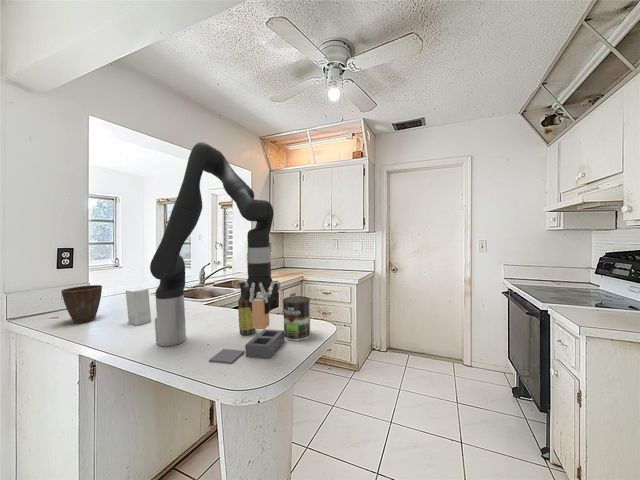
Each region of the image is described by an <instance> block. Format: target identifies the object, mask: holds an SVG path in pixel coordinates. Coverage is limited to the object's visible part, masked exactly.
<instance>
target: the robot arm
mask: <svg viewBox="0 0 640 480" xmlns="http://www.w3.org/2000/svg"><path fill="white" fill-rule="evenodd" d="M186 163H187V164H186V168H185V172H184V177H183V179H182V183H181V185H180V188H179V192H178V195H177V197H176V200H175V202H174V205H173V207H172V209H171V212H170V216H169V219H168V221H167V224H166V227H165V230H164V233H163V235H162V238H161V240H160V243H159V245H158V247H157V249H156V251H155V253H154V254H153V257H152V258H151V262H150V265H149V269H150V274H151V275H152V276H153V278H155V279H156V280H159V285H158V286H157V288H156V290H155V306H156V309H155V310H156V317H155V318H154V330H155V345H158V346H160V347H171V346H177V345H179V344H182V343H184V342H185V341H186V340H187V333H186V332H187V331H186V328H187V327H186V313H185V312H186V311H185V294H184V293H185V292H184V291H185V287H186V263H185V261H184V257H183V256H181V255H180V253H181V250H182V248H183V246H184V244H185V242H186V241H187V239H188V238H189V237H190V235H191V234H192V233H193V231H194V229H195V228H196V226H197V224H198V222H199V220H200V216H201V213H202V211H203V199H202V193H201V180H202V179H201V178H202V176H203V172H206V173H208V174H211V175H213V176H215V177H216V178H217V179H218V180H220V181H221V183H222V185H223V186H222V187H223V189H224V191H225V193H226V194H227V195H228V196H229V197H230V198H231V200H233V201H234V203H235V204H236V207H237V209H238V211H239V214H240V216H242V218H243V219H245V220H246V221H249V222H256V225H255V227H254V228H252V229H249V230H248V231H247V235H246V238H247V252H246V261H247V263H246V264H247V266H246V267H247V279H246V280H245V281H241V282H240V283H239V288H240V287H241V288H240V291H241V290H242V293H243V296H244V299H245V300H248V301H250V310H251V311H252V301H253V300H254V299H255V298H256V297H258V296H257V295H258V293H260V294H261V295H262V296H261V297H264V301H265V314H268V313H269V314H270V312H271V310H272V305H271V304H272V303H271V302H273V301H275V300H276V299H277V297H278V292H279V290H280V286H281V283H280V282H278V281H277V282H276V281H274V280H273V278H272V260H271V258H272V257H271V256H272V254H271V248H270V246H271V245H270V233H271V229H272V224H273V220H274V214H275V213H274V208H273V205H272V204H271V203H270V201H268V200H263V199H255V192H254V191H253V189H252V188H251V187H250V186H249V185H248V184H247V183H246V182H245V181H244V180H243V179H242V178H241V177H240V176H239V174H237V173H236V172H235V170H234V169H233V168H232V166H231V165H230V163H229V162H228V160H227V159H226V157H225V155H224V154H223V153H222V152H221V151H220V150H218V149H217V148H215V147H213V146H211V145H210V144H208V143H207V142H204V141H199V142H197V143H196V144H194V145H193V147H192V148H191V151H190V153H189V157H188V159H187V162H186ZM248 285H249V286H250V292H249V289H248ZM270 287H271V289H272V291H270Z"/></svg>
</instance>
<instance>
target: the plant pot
mask: <svg viewBox="0 0 640 480" xmlns="http://www.w3.org/2000/svg"><path fill="white" fill-rule="evenodd" d="M102 290H103V285H100V284H98V285H97V284H92V285H91V284H89V285H82V286H74V287H68V288H65V289H62V290H61V291H60V292H61V296H62V299H63V303H64V305H65V307H66V308H65V309H66V310H67V312H68V315H69V316H70V318H71V320H72V322H73V323H74V324H77V323H78V324H85V323H89V322H92V321H94V320H95V319H96V317H97V313H98V310H99V306H100V303H101V297H102Z"/></svg>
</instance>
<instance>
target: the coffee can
mask: <svg viewBox="0 0 640 480" xmlns="http://www.w3.org/2000/svg"><path fill="white" fill-rule="evenodd" d="M310 301H311V299H310V297H308V296H303V295H301V296H300V295H293V296H289V297H284V298H283V299H282V307H283V308H282V309H283V330H284V337H285V339H286V340H287V341H293V342H297V341H298V342H299V341H304V340H307V339H309V338H311V336H312V335H311V309H310V308H311V304H310Z"/></svg>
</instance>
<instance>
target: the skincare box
mask: <svg viewBox="0 0 640 480" xmlns="http://www.w3.org/2000/svg"><path fill="white" fill-rule="evenodd" d="M125 299H126V308H127V309H126V310H127V316H128V317H127V319H128V324H130V325H134V326H141V325H143V324H147V323H151V322H152V316H151V315H152V313H151V305H150V304H151V303H150V292H149V288H145V287H136V288H133V289H132V288H131V289H126V290H125Z"/></svg>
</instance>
